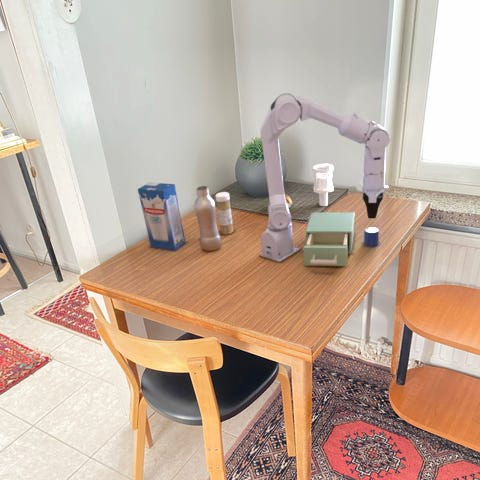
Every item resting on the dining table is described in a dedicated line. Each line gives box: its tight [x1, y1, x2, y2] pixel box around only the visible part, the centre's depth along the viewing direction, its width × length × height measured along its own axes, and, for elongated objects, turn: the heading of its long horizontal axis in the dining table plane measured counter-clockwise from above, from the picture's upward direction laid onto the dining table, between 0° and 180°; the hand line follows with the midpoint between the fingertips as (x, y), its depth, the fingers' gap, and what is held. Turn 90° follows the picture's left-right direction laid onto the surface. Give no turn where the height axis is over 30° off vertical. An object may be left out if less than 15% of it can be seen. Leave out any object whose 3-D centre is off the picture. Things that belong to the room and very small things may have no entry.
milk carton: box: [137, 182, 186, 252], centre depth 156 cm, size 10×6×20 cm, turn 62°
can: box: [363, 226, 380, 248], centre depth 145 cm, size 4×4×4 cm
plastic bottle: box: [193, 185, 222, 252], centre depth 150 cm, size 6×7×20 cm
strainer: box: [312, 163, 334, 207], centre depth 172 cm, size 7×7×15 cm
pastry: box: [285, 194, 293, 208], centre depth 177 cm, size 9×7×4 cm
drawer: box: [303, 233, 349, 267], centre depth 138 cm, size 18×12×6 cm, turn 166°
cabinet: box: [305, 211, 355, 255], centre depth 147 cm, size 14×13×7 cm
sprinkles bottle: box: [214, 191, 234, 235], centre depth 161 cm, size 5×5×13 cm
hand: (372, 217), depth 141 cm, fingers closed
